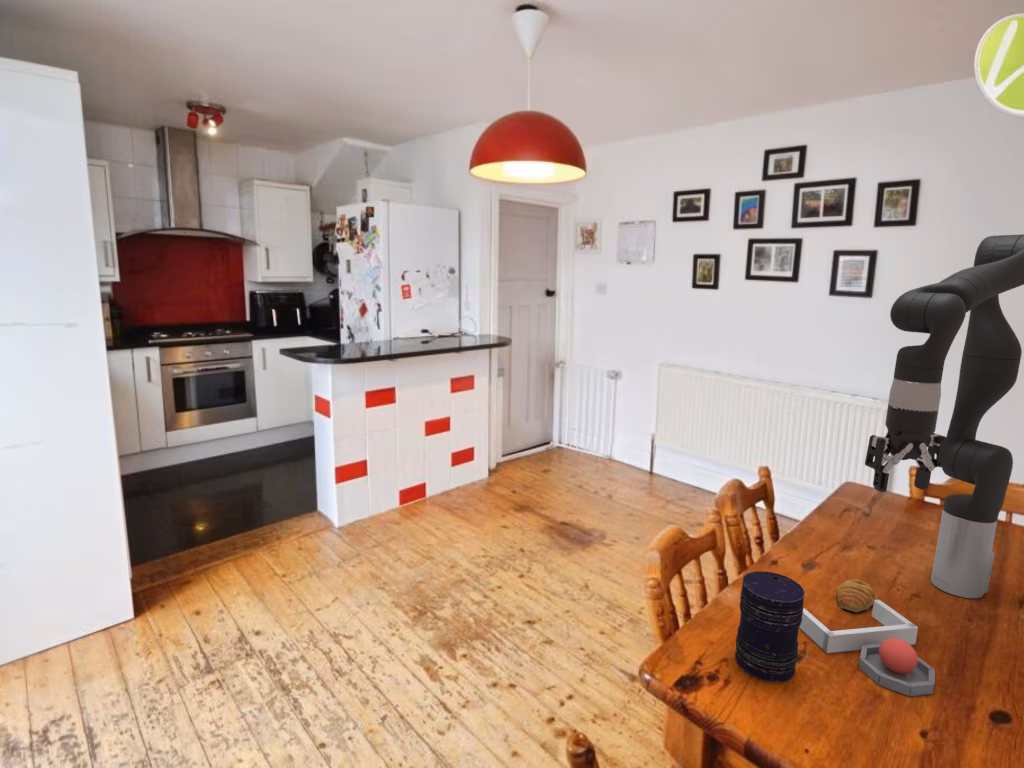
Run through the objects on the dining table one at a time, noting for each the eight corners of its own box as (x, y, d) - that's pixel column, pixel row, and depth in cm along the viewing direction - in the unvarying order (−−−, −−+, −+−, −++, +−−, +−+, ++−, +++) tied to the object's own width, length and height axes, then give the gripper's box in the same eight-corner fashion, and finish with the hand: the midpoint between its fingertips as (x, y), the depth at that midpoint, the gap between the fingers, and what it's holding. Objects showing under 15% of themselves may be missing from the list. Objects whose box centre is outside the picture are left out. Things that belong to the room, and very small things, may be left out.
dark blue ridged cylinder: (791, 691, 93) (802, 609, 90) (729, 669, 98) (736, 590, 95) (798, 657, 102) (808, 581, 99) (740, 638, 107) (747, 565, 104)
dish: (897, 650, 104) (898, 641, 104) (949, 691, 94) (950, 682, 93) (845, 656, 102) (847, 647, 102) (892, 698, 92) (894, 688, 92)
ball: (896, 657, 101) (901, 629, 100) (923, 679, 96) (928, 650, 95) (869, 660, 100) (873, 633, 99) (894, 683, 95) (899, 653, 94)
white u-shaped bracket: (877, 615, 115) (879, 599, 114) (915, 644, 106) (918, 627, 105) (794, 623, 112) (796, 606, 111) (827, 653, 103) (829, 635, 102)
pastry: (866, 620, 113) (869, 602, 113) (829, 607, 118) (831, 590, 117) (876, 600, 120) (878, 584, 120) (840, 589, 125) (842, 573, 124)
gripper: (929, 399, 108) (916, 480, 111) (862, 400, 105) (851, 484, 108) (966, 408, 100) (951, 495, 103) (895, 410, 98) (882, 499, 101)
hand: (900, 489), depth 106 cm, fingers open, 8 cm apart
